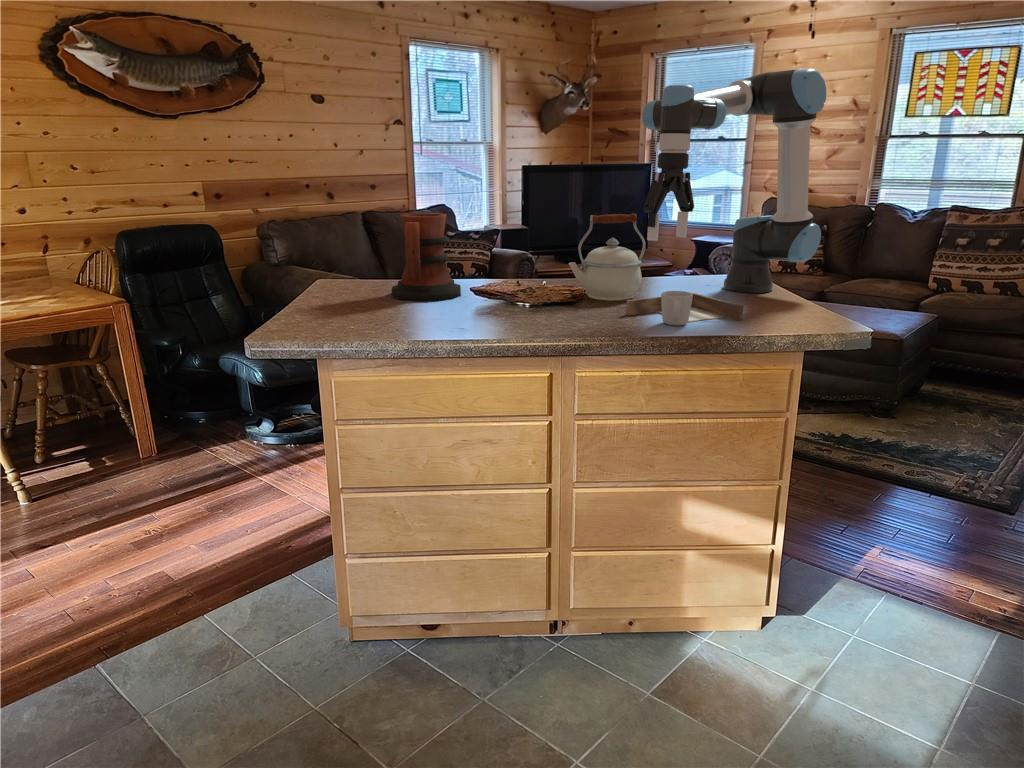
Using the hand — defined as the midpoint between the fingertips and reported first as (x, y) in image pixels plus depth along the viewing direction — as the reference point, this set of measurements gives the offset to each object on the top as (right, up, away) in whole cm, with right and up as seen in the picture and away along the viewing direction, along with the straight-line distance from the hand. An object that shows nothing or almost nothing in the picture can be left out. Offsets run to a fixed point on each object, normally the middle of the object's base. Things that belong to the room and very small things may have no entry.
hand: (667, 238), depth 188 cm
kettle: (-11, -11, +37) cm, 40 cm away
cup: (+2, -22, +1) cm, 22 cm away
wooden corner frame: (+6, -19, +9) cm, 22 cm away
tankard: (-67, -10, +40) cm, 78 cm away
